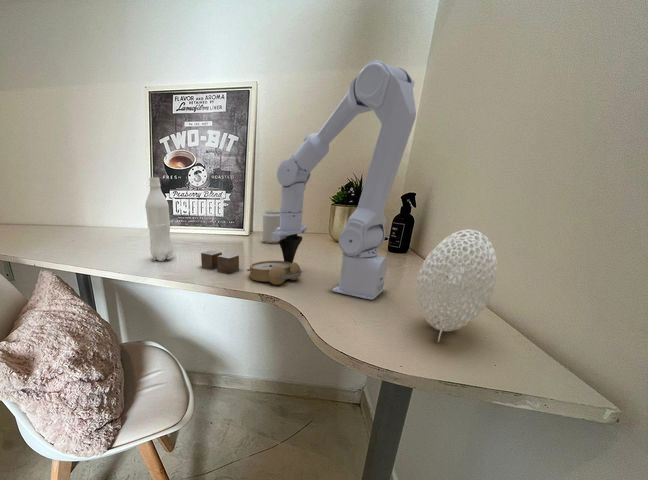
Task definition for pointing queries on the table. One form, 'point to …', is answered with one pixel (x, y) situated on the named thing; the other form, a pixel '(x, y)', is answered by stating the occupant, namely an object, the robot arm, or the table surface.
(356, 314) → the table surface
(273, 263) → the alarm clock
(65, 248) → the table surface
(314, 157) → the robot arm
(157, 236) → the water bottle
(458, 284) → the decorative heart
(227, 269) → the walnut block near
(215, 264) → the walnut block far
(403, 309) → the table surface
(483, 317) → the table surface
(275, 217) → the can
